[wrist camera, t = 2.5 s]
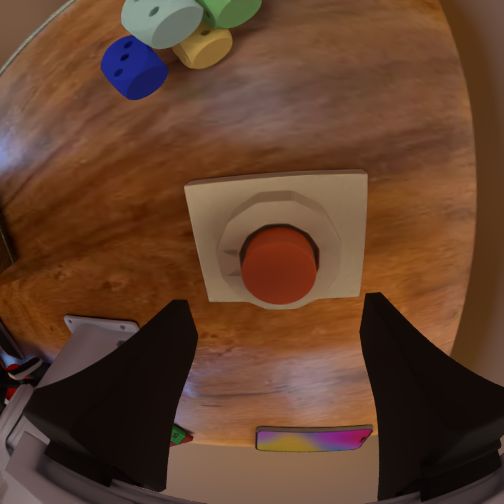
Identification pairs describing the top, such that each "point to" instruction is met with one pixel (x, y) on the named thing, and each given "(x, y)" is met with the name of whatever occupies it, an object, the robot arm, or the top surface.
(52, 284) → the top surface
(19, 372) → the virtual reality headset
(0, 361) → the vase
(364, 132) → the top surface
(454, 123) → the top surface
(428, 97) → the top surface
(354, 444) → the smartphone
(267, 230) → the button
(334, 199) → the box
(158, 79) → the dice
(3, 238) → the wooden box
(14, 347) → the smartphone
